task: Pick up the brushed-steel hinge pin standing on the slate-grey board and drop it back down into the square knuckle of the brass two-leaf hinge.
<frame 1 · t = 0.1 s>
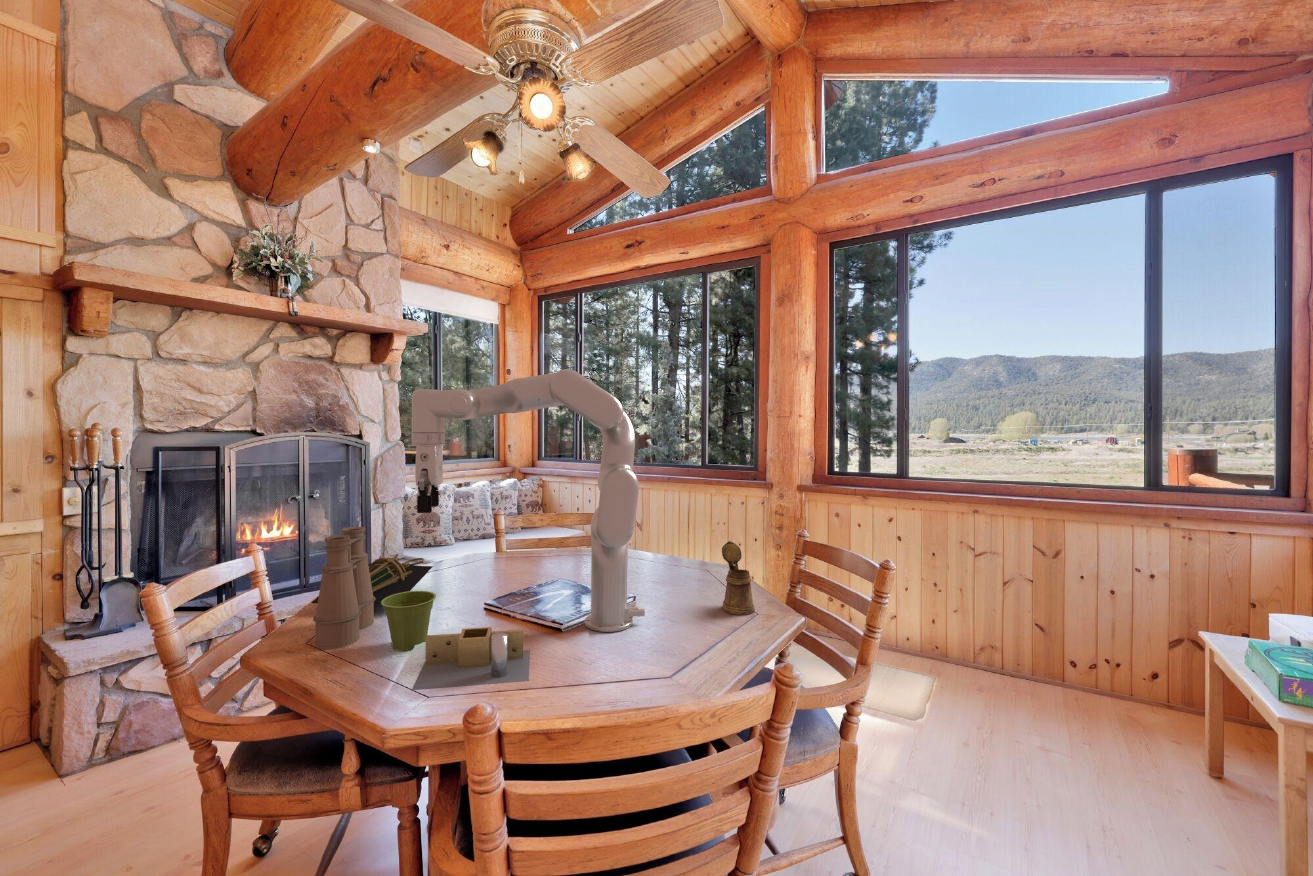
hand: (428, 509, 136), 31 cm above the table, fingers open, 9 cm apart
binoculars: (346, 633, 137), on the table
hinge: (475, 665, 120), resting on board
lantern: (381, 599, 164), on the table
wooden mug: (735, 607, 161), on the table
board: (475, 674, 116), on the table
plant pot: (409, 646, 130), on the table
pin: (499, 674, 114), point 1 cm above the table, touching board
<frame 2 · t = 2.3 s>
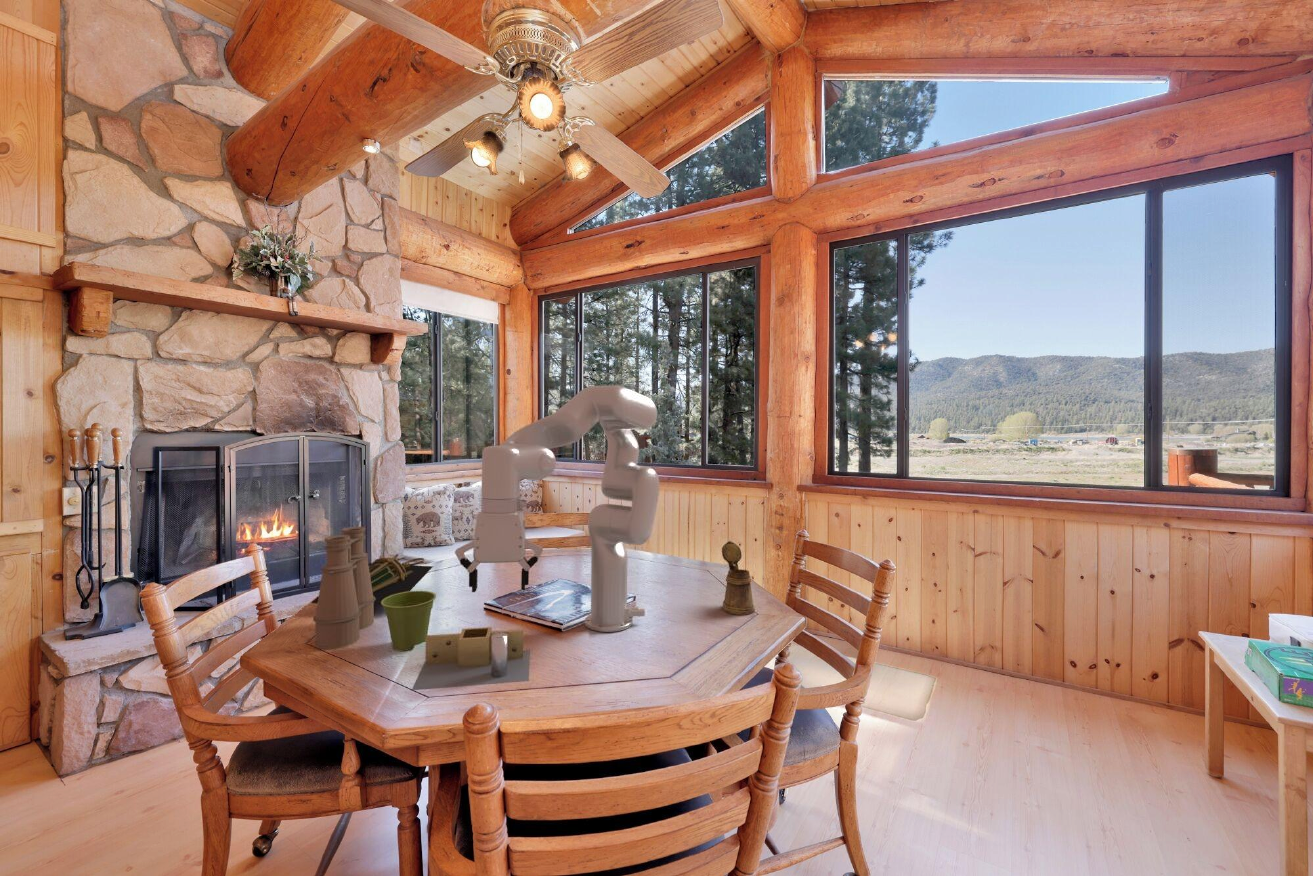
hand: (499, 589, 113), 19 cm above the table, fingers open, 9 cm apart
nothing on the table moved.
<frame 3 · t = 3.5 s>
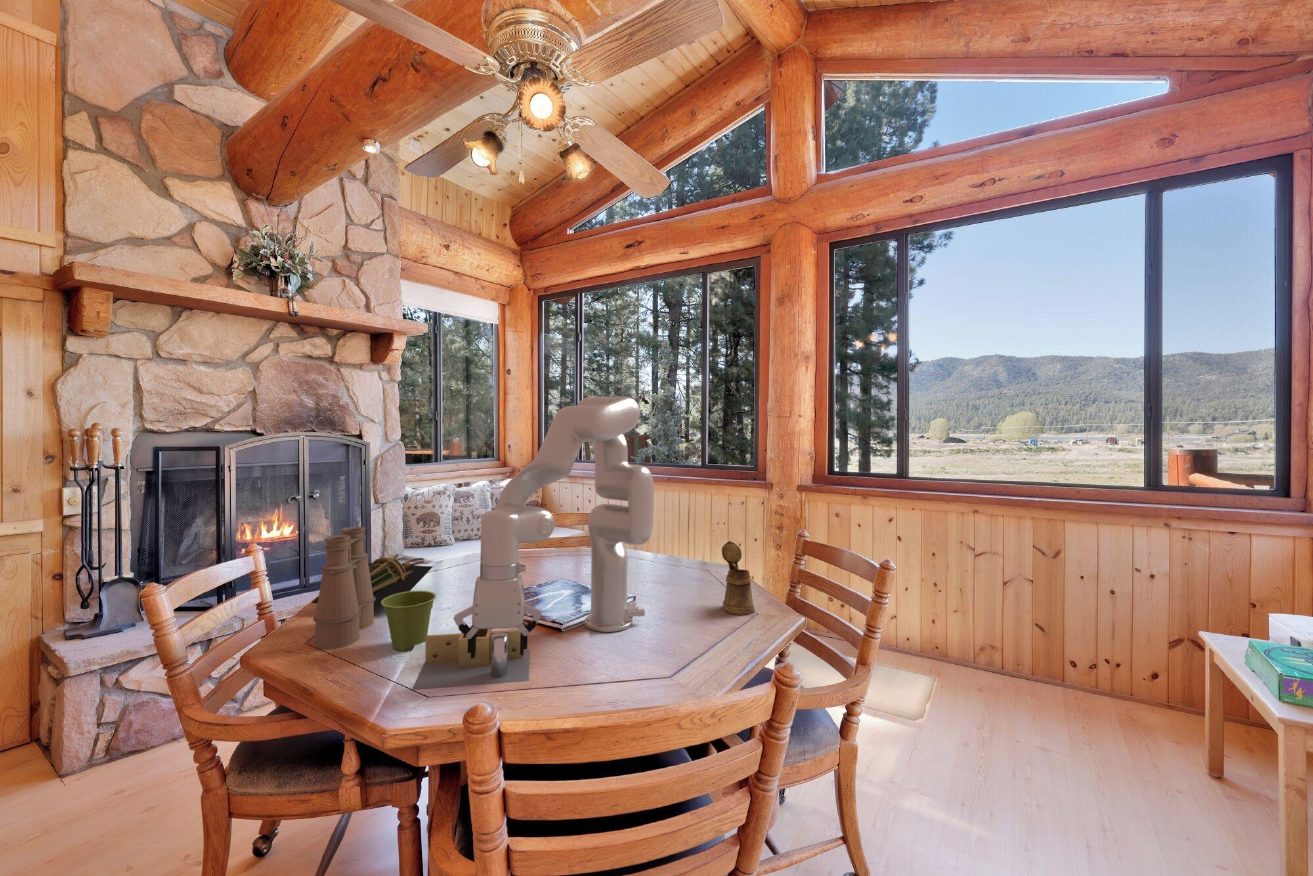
hand: (497, 654, 113), 5 cm above the table, fingers open, 9 cm apart
nothing on the table moved.
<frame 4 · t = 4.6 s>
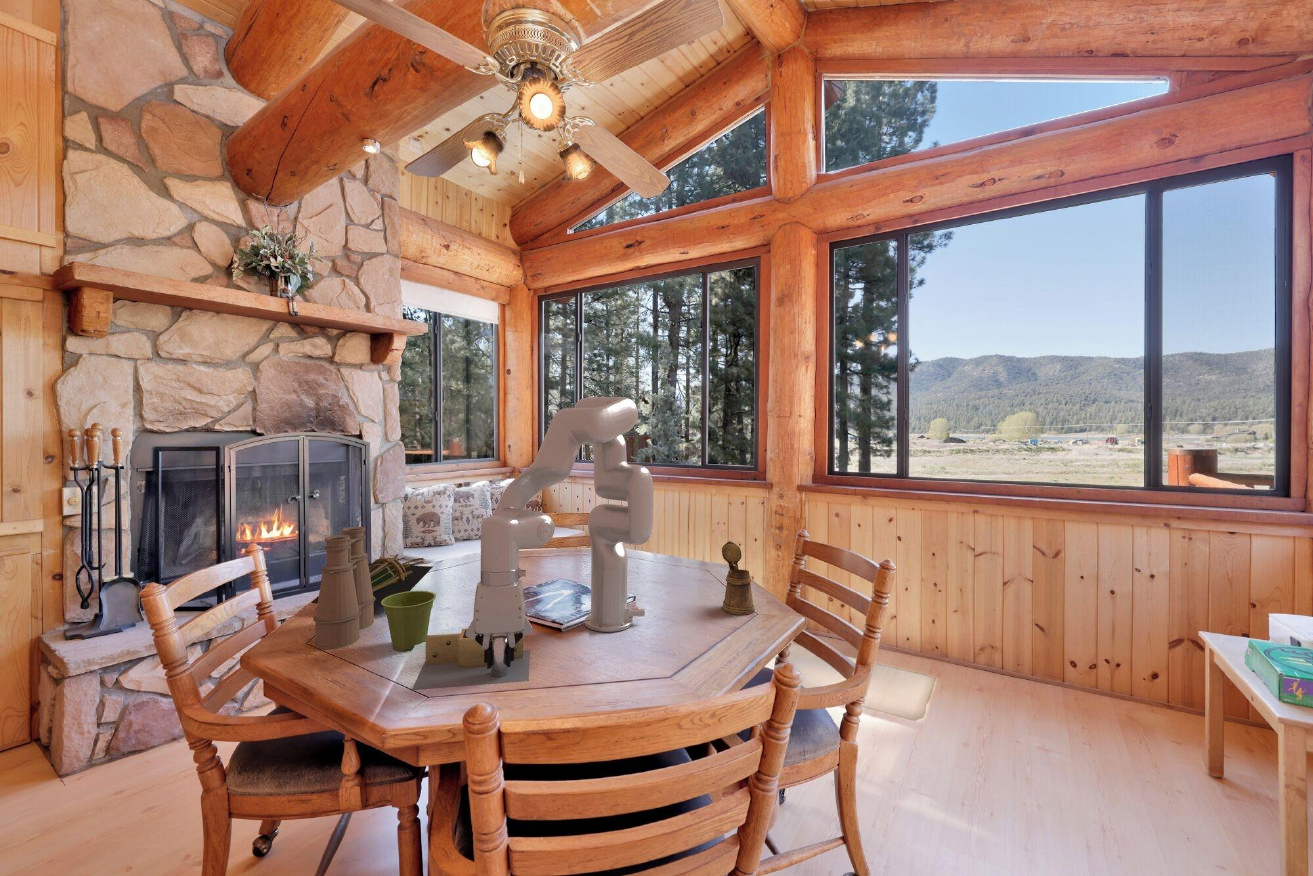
hand: (499, 664, 114), 3 cm above the table, fingers closed on pin, 3 cm apart
pin: (499, 673, 114), point 1 cm above the table, touching board, gripper
everything else where it was.
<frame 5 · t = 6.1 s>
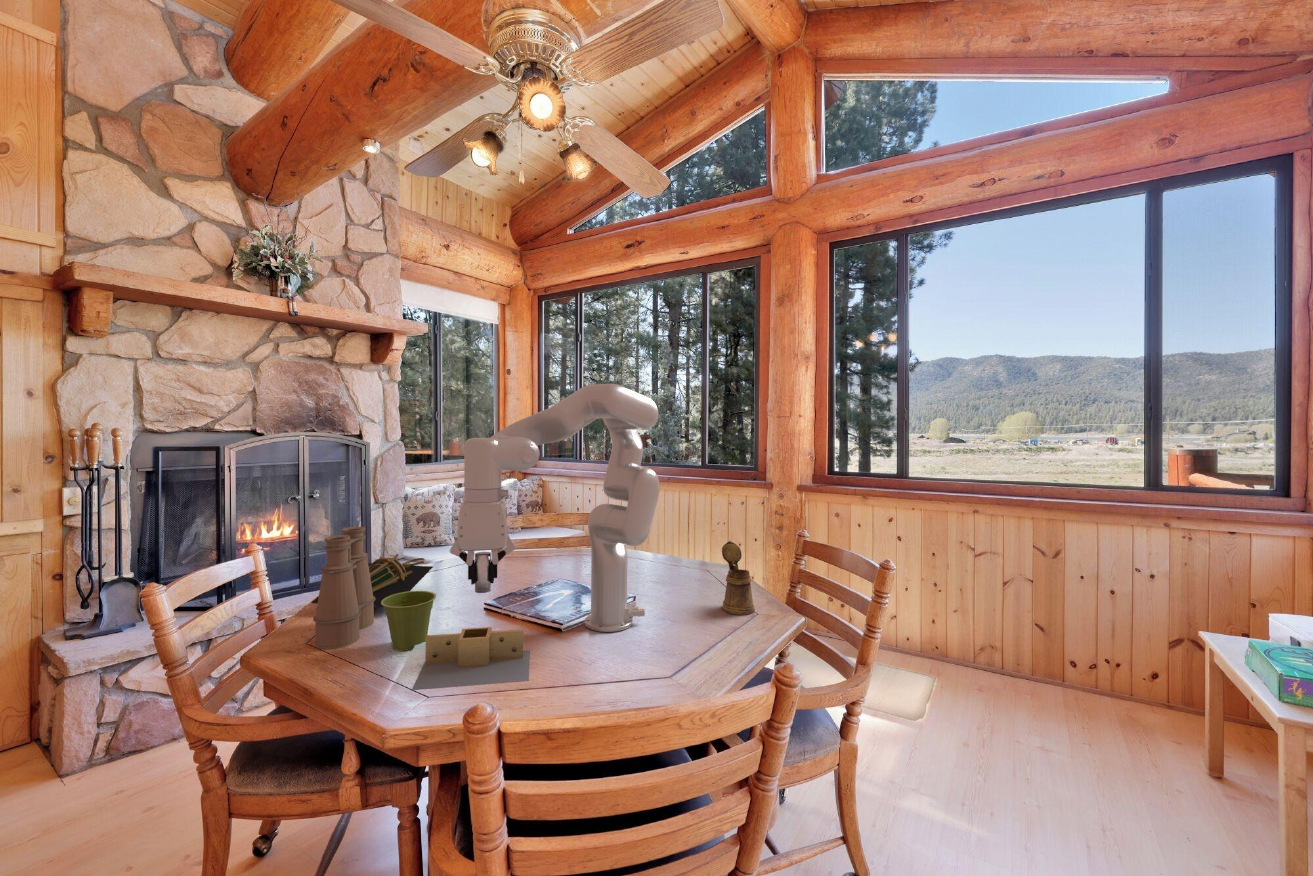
hand: (482, 581, 117), 19 cm above the table, fingers closed on pin, 3 cm apart
pin: (482, 590, 117), point 17 cm above the table, touching gripper
everything else where it was.
when the fingers open (8 cm above the table, at t = 7.9 s): pin drops 4 cm, point 1 cm above the table.
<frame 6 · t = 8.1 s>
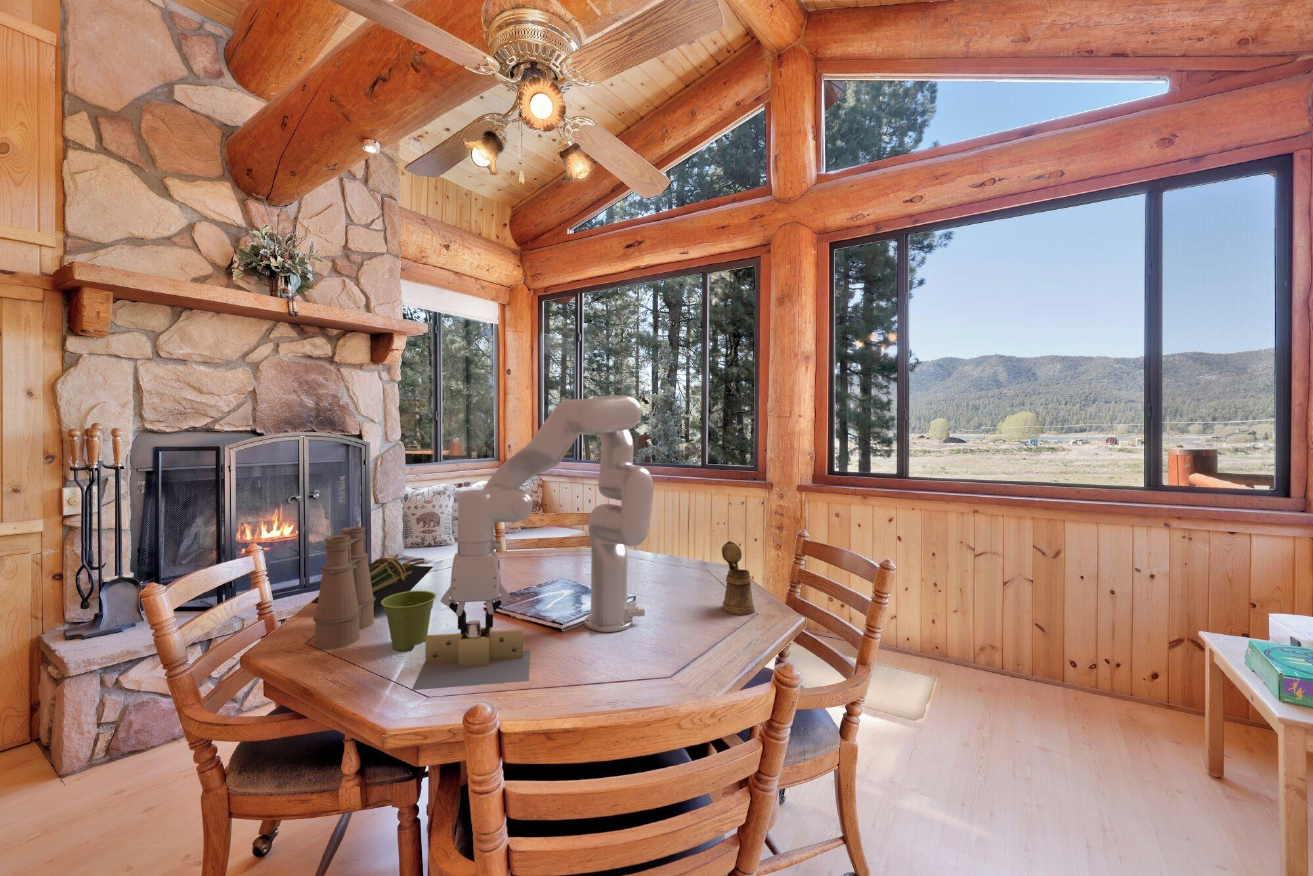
hand: (475, 630, 120), 8 cm above the table, fingers open, 4 cm apart
pin: (475, 659, 120), point 1 cm above the table, tilted 5°, touching gripper
everything else where it was.
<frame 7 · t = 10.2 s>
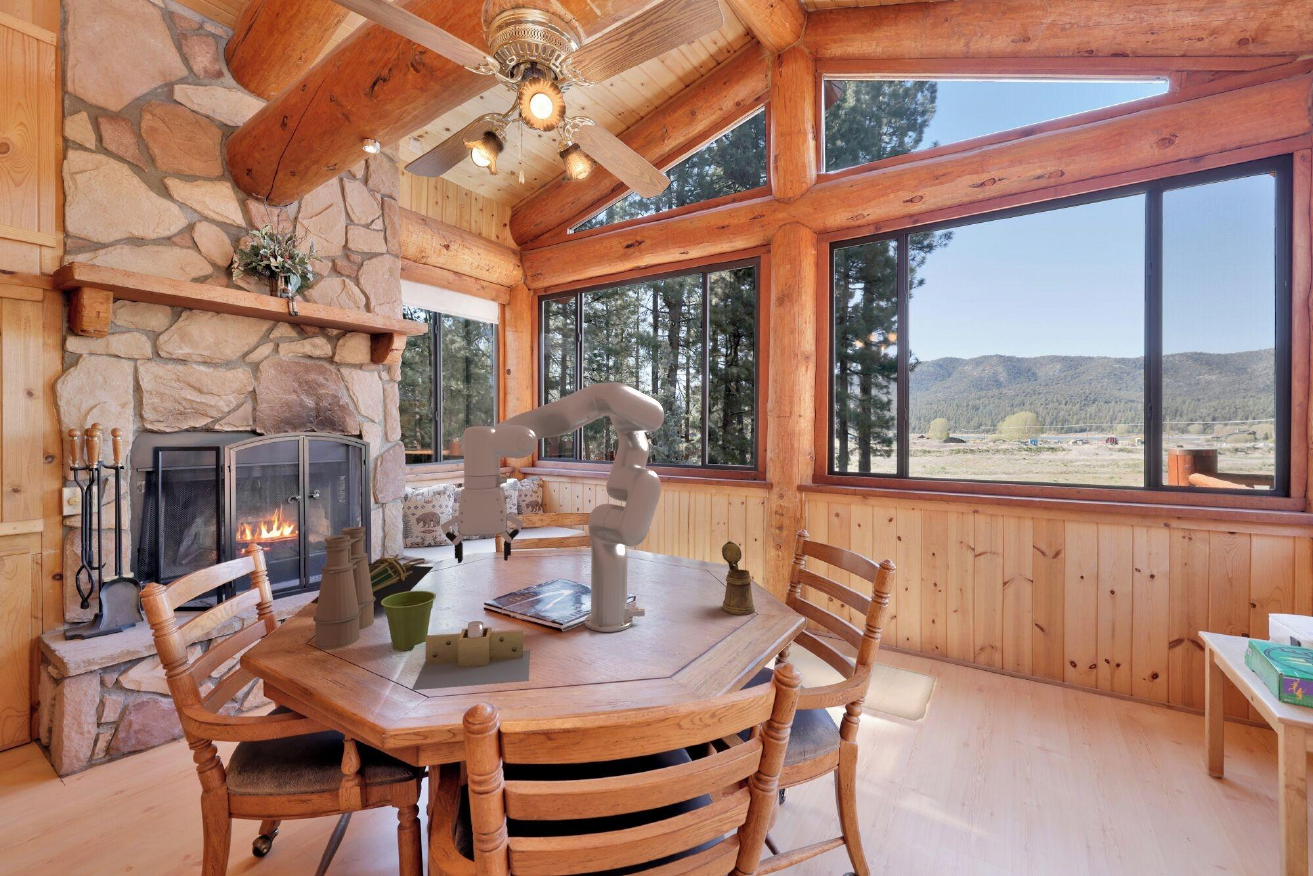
hand: (483, 560, 121), 23 cm above the table, fingers open, 9 cm apart
pin: (473, 659, 120), point 1 cm above the table, touching board
everything else where it was.
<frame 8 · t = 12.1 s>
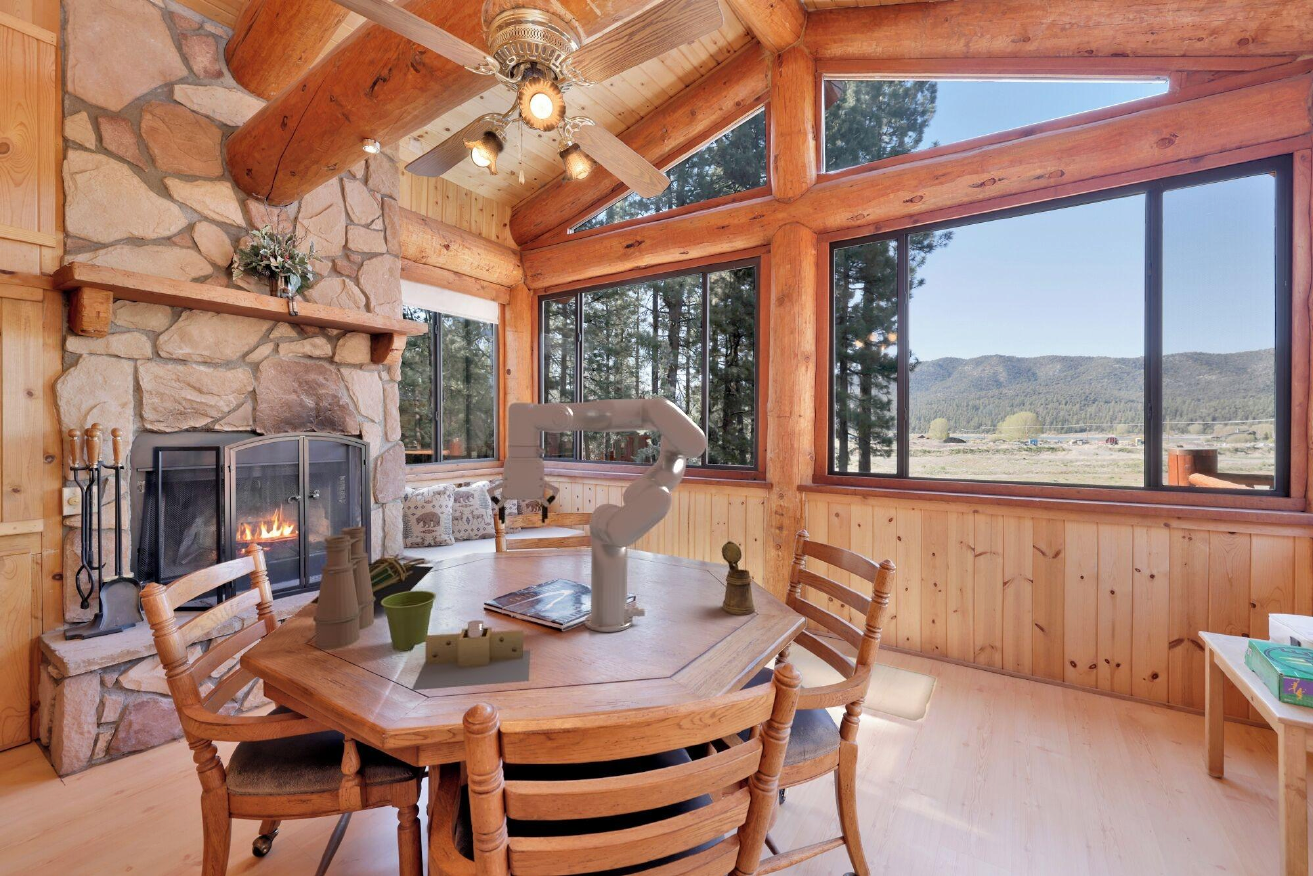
hand: (523, 522, 136), 28 cm above the table, fingers open, 9 cm apart
nothing on the table moved.
at the end: pin 0.4 cm off-centre on the hinge, point 1.3 cm above the hinge's base; pin tilted 4°; the gripper is holding nothing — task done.
